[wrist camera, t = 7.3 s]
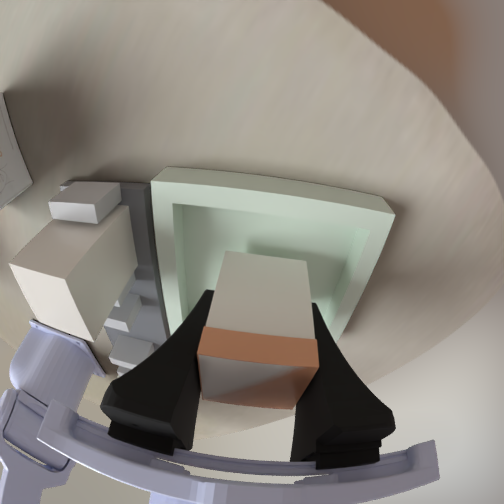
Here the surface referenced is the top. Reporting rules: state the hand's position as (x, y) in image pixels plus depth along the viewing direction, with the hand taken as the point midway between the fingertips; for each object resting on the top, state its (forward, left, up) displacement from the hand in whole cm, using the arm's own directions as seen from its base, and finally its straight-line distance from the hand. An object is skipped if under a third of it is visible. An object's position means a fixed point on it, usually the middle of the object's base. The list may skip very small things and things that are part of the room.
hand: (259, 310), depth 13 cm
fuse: (-9, +2, -3) cm, 10 cm away
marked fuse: (0, 0, -2) cm, 2 cm away
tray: (0, 0, -3) cm, 3 cm away
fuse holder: (-9, -6, -3) cm, 12 cm away
